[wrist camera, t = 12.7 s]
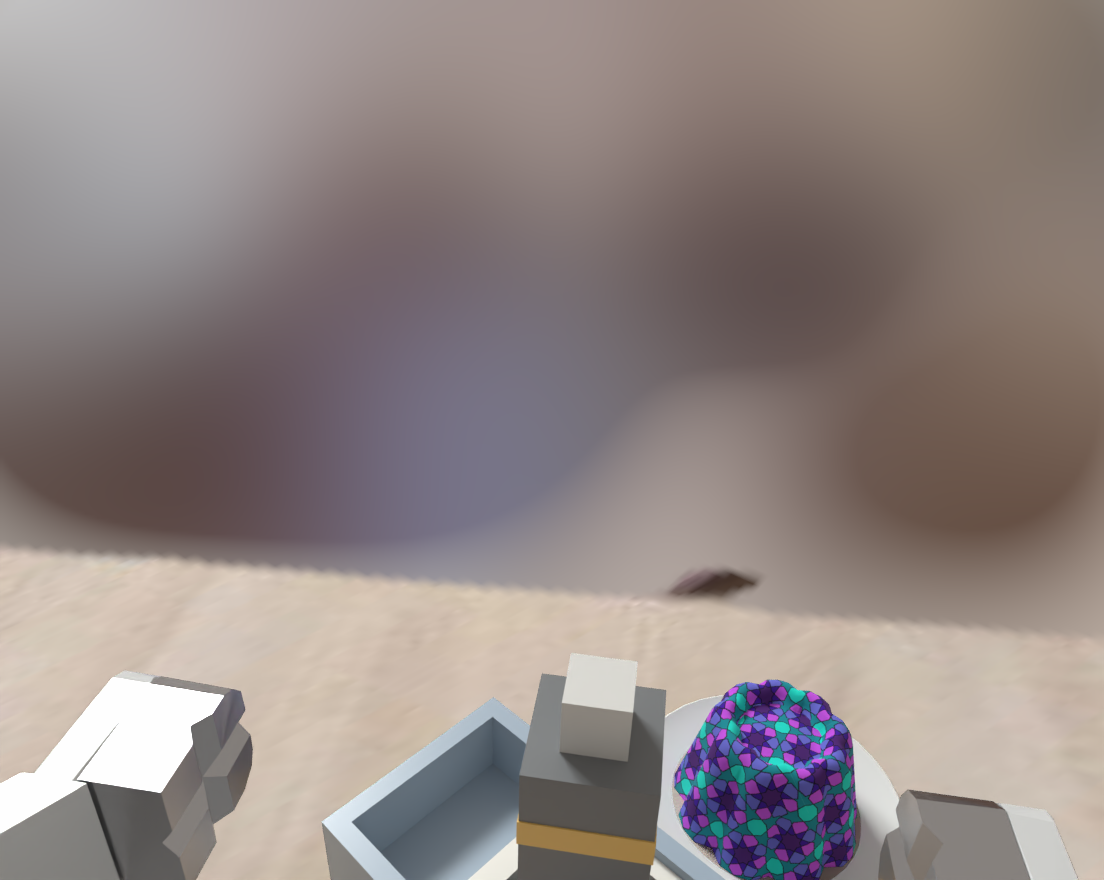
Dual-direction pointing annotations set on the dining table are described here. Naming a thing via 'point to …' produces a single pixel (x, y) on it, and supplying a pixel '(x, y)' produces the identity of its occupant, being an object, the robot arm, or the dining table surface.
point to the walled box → (456, 813)
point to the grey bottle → (591, 775)
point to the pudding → (774, 786)
